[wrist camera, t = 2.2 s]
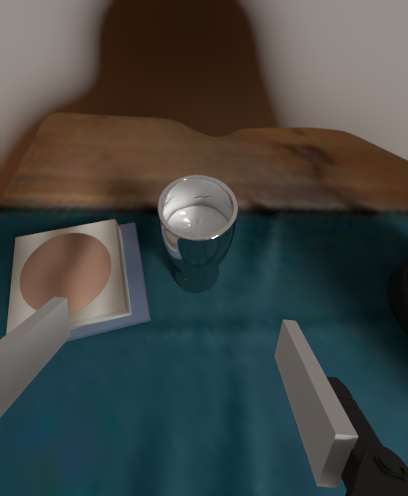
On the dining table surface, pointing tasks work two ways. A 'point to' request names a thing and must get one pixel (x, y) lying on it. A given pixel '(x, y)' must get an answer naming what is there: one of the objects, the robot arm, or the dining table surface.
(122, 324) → the grey flat slab
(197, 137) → the dining table surface
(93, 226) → the plinth
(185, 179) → the silver metal cup
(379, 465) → the robot arm
